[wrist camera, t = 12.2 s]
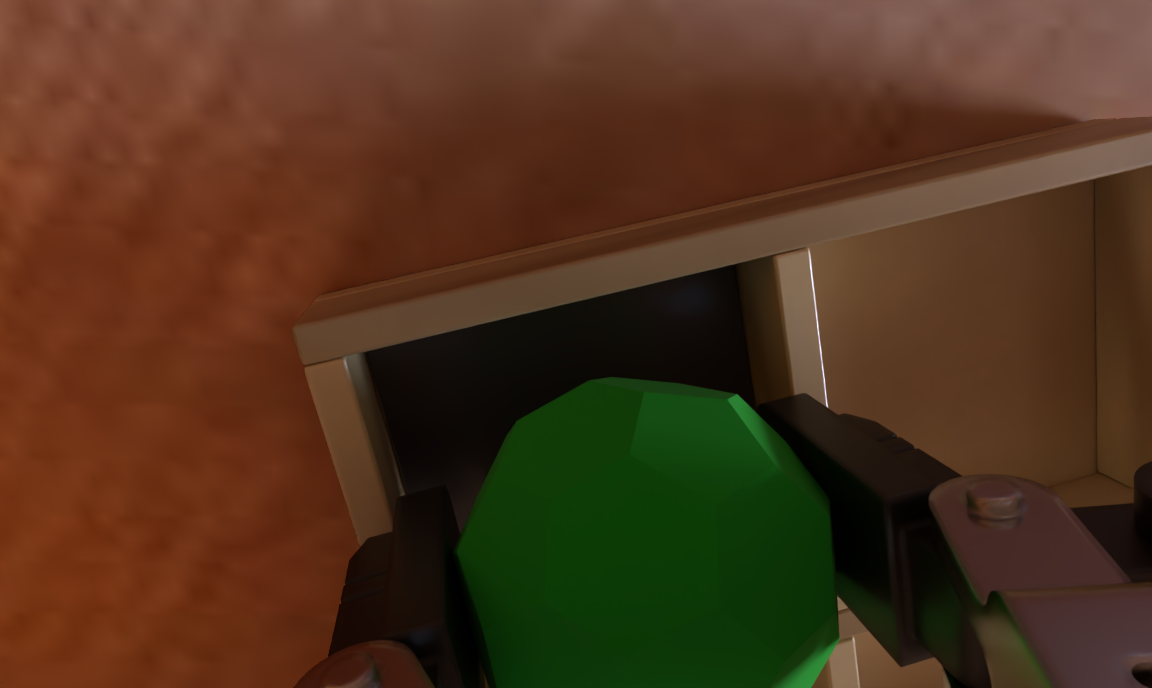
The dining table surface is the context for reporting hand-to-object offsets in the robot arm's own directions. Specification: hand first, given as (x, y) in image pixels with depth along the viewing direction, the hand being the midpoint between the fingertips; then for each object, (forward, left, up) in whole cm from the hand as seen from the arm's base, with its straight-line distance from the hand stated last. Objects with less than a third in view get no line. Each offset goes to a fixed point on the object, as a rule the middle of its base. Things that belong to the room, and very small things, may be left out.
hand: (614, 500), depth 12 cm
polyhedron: (0, 0, -1) cm, 1 cm away
